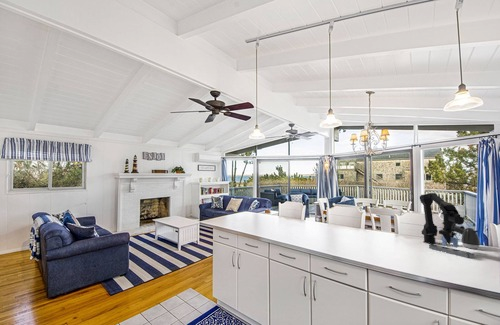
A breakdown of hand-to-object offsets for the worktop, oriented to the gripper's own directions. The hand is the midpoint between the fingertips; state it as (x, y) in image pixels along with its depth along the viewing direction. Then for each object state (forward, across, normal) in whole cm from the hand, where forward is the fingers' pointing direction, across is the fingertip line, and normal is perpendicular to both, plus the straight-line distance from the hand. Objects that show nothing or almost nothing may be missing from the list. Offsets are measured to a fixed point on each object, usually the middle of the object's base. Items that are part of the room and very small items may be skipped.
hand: (449, 243), depth 158 cm
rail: (+7, 0, 0) cm, 7 cm away
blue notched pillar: (+2, 0, 0) cm, 2 cm away
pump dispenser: (+7, +27, -4) cm, 28 cm away
